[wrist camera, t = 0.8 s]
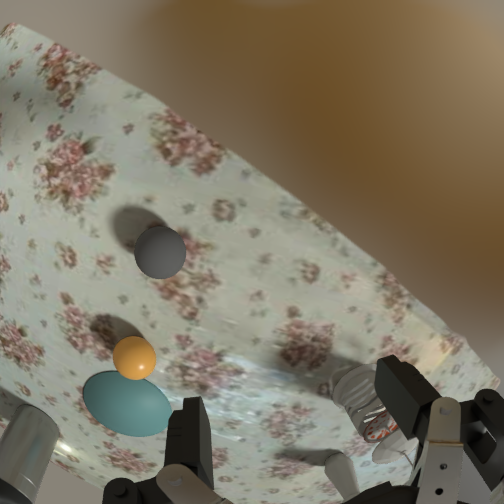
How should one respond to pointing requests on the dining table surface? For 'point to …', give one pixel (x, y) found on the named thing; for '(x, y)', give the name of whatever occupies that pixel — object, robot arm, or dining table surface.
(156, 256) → the charcoal ball
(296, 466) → the dining table surface
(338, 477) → the salt shaker
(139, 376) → the orange ball
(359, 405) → the french press
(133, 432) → the teal mark
